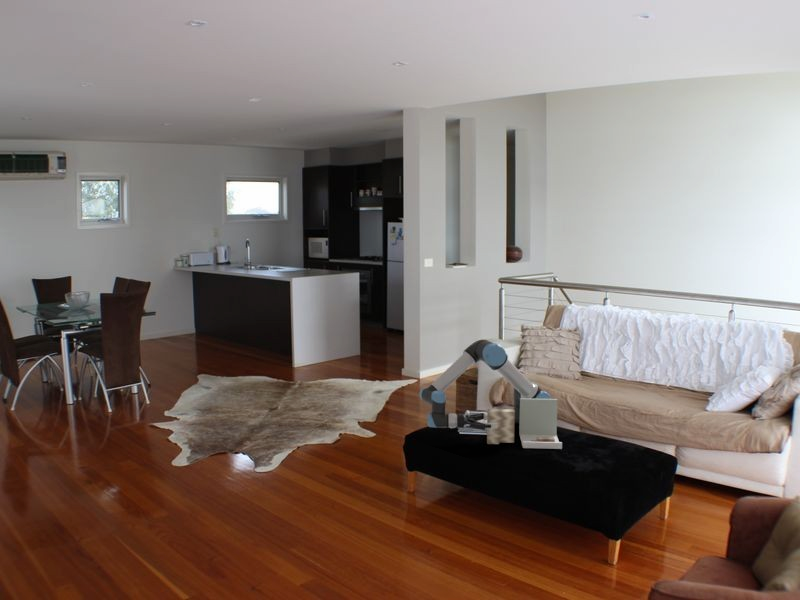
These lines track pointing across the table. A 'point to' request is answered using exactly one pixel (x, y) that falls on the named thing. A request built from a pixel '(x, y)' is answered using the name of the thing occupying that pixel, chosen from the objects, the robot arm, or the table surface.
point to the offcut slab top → (545, 439)
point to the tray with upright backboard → (538, 422)
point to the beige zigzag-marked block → (501, 426)
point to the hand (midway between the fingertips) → (496, 421)
